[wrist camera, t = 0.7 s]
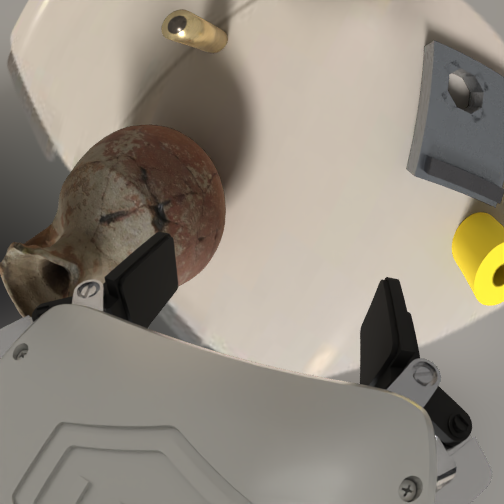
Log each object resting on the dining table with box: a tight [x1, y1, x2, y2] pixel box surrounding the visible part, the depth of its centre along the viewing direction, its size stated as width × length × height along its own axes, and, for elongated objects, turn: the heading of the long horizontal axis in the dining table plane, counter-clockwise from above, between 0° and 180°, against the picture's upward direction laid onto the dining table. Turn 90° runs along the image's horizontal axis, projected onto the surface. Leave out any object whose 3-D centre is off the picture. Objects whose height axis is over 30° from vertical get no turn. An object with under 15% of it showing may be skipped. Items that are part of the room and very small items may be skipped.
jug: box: [0, 125, 226, 318], centre depth 29 cm, size 22×22×30 cm
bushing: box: [162, 10, 228, 53], centre depth 24 cm, size 4×4×10 cm
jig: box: [406, 41, 504, 208], centre depth 22 cm, size 18×14×6 cm
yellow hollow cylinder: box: [452, 212, 504, 305], centre depth 27 cm, size 10×10×9 cm
